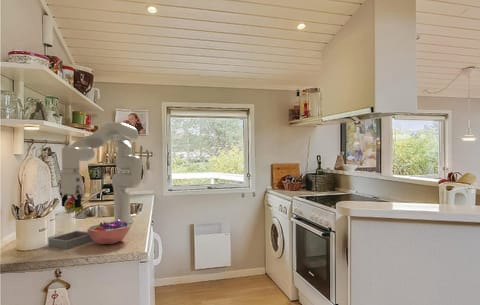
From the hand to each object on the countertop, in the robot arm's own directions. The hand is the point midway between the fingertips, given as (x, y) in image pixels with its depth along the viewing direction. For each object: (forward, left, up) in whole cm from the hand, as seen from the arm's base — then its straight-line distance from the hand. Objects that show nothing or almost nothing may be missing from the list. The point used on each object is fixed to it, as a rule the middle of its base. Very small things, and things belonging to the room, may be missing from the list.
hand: (71, 206), depth 147 cm
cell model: (-8, +18, -18) cm, 27 cm away
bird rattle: (-1, 0, -4) cm, 4 cm away
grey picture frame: (0, 0, -18) cm, 18 cm away
